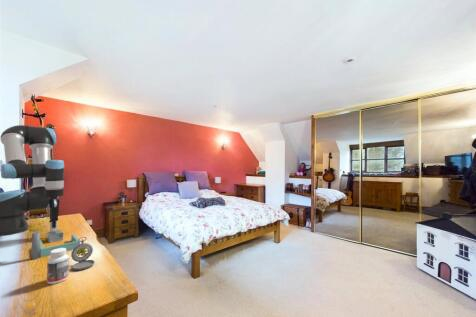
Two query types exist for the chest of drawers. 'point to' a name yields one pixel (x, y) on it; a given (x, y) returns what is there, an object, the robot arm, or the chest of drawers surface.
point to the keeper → (41, 251)
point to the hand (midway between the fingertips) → (53, 233)
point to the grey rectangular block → (54, 236)
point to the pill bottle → (57, 266)
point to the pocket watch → (82, 260)
